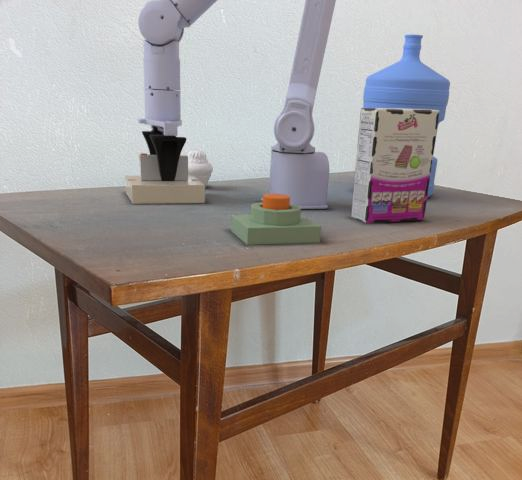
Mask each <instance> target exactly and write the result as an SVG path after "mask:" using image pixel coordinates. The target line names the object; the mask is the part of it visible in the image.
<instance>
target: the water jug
mask: <svg viewBox="0 0 522 480" xmlns="http://www.w3.org/2000/svg"><path fill="white" fill-rule="evenodd" d="M423 37H424V36H423V35H422V34H404V43H403V47H402V56H401V58H400V59H399V61H396V62H395V63H393V64H391V65H387V66H386V67H384V68H382V69H380V70H378V71H376V72H373V73H372V74H369V75H368V76H366V78H365V85H364V88H363V97H362V101H363V103H362V108H410V109H431V110H438V111H440V112H439V118H438V125H437V130H438V127H439V125H440V123H441V122H443V121H444V120H445V118H446V112H447V111H446V110H447V106H448V104H449V100H450V99H449V98H450V88H451V87H450V86H451V82H450V80H449V79H448V78H446V77H444V76H443V75H442V74H440V73H438V72H437V71H436V70H434V69H433V68H431V67H430V66H428V65H426V64H425V63H424V62H422V60H421V59H420V54H421V50H422V39H423ZM437 134H438V131H437V132H436V136H437ZM436 141H437V138H436V139H435V142H436ZM435 147H436V145H435V146H434V149H435ZM433 155H434V153H433ZM437 167H438V158H437V157H435V156H433V160H432V165H431V174H430V180H429V188H428V195H427V199H428V198H430V197H431V196H432V195H433V193H434V189H435V180H436V179H435V178H436V173H437ZM354 179H355V177H353V180H354Z"/></svg>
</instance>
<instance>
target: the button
mask: <svg viewBox="0 0 522 480" xmlns="http://www.w3.org/2000/svg"><path fill="white" fill-rule="evenodd" d="M262 198H263V202H262V201H261V202H262V208H266V209H273V210H287V209H289V208H290V196H288V195H283V194H269V193H265V194H262Z"/></svg>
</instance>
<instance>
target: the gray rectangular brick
mask: <svg viewBox="0 0 522 480" xmlns="http://www.w3.org/2000/svg"><path fill="white" fill-rule="evenodd" d="M138 162H139V163H138V165H139V166H138V167H139V169H138V170H139V176H140V180H161V177H160V173H159V166H158V160H157V155H150V154H148V153H147V152H140V153H139V154H138ZM175 180H188V156H187V154H180V157H179V162H178V167H177V173H176V177H175Z"/></svg>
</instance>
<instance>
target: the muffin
mask: <svg viewBox="0 0 522 480" xmlns="http://www.w3.org/2000/svg"><path fill="white" fill-rule="evenodd" d="M186 155H187V156H188V176H193V177H195V178H196V179H200V180H199V181H200V182H202V183H203V184H204V185H205V188H206V187H207V184H208V182H209V180H210V179H211V177H212V173H213V171H214V167H213V165H212V164H211V162H209V160H208V158H207V155H206V153H205V151H202V150H198V149H197V148H196V149H195V150H194V149H193V150H190V151H188V152H187V154H186Z"/></svg>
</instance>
